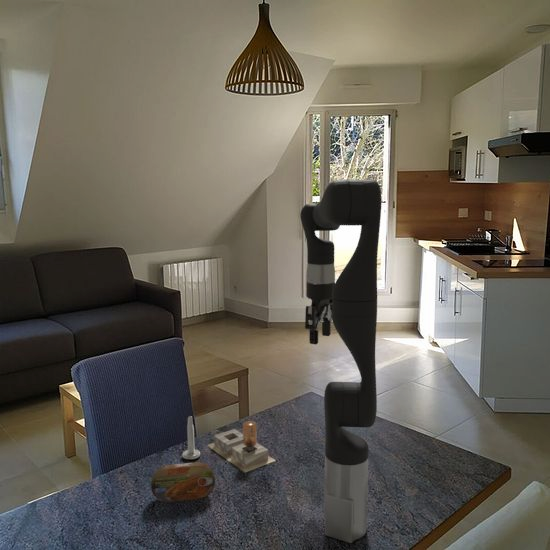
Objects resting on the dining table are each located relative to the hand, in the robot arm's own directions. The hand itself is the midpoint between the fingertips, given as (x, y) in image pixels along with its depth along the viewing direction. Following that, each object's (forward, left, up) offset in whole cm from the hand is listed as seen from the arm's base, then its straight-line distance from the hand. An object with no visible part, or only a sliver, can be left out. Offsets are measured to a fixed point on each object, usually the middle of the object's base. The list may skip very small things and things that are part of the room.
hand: (320, 339), depth 150 cm
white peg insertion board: (-11, +19, -33) cm, 40 cm away
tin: (-34, +21, -33) cm, 52 cm away
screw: (-19, +30, -33) cm, 48 cm away
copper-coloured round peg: (-13, +15, -32) cm, 37 cm away
